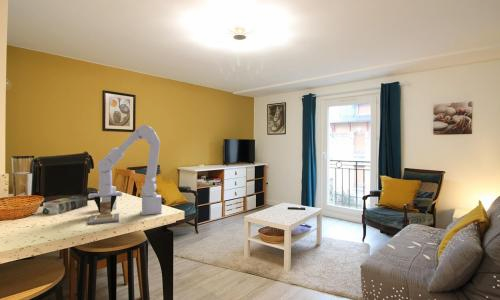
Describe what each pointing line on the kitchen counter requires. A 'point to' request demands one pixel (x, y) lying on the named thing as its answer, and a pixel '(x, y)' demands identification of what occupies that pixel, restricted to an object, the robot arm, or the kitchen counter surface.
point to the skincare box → (105, 199)
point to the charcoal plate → (103, 219)
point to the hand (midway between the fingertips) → (105, 211)
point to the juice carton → (65, 204)
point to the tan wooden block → (105, 208)
